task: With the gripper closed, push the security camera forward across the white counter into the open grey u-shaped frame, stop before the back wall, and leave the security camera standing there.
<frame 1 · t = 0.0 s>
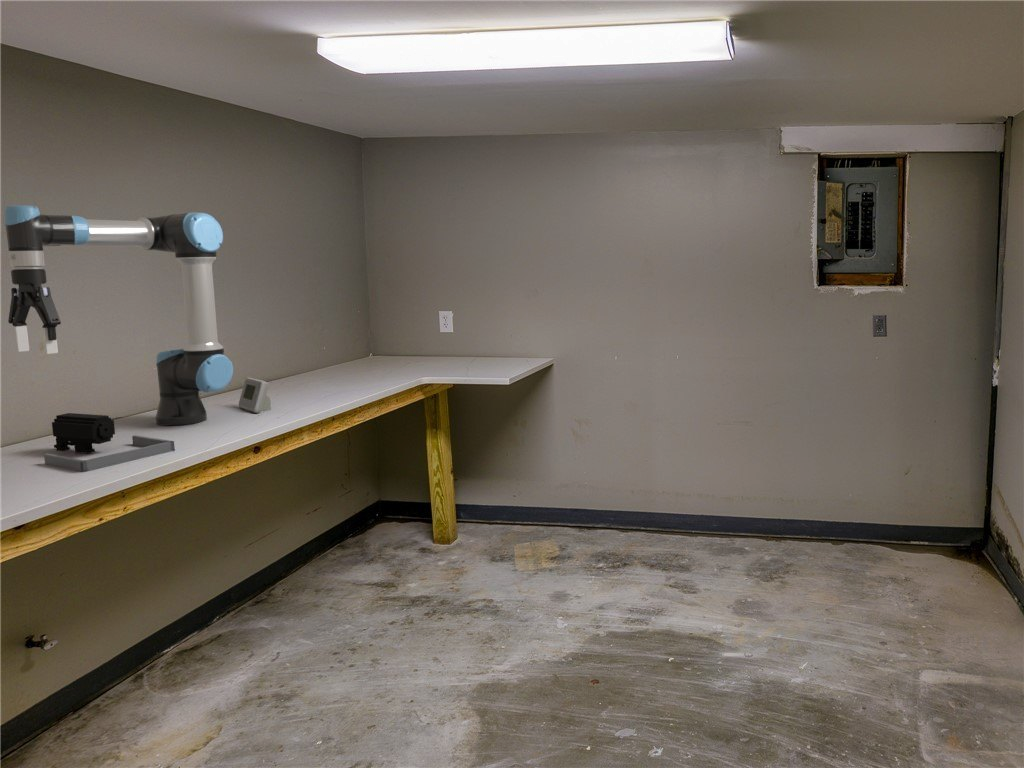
hand: (37, 352, 206), 28 cm above the table, tool pointing down, fingers open, 13 cm apart
digital clock: (254, 410, 275), on the table
grey u-shaped frame: (111, 456, 211), on the table
security camera: (83, 452, 218), on the table
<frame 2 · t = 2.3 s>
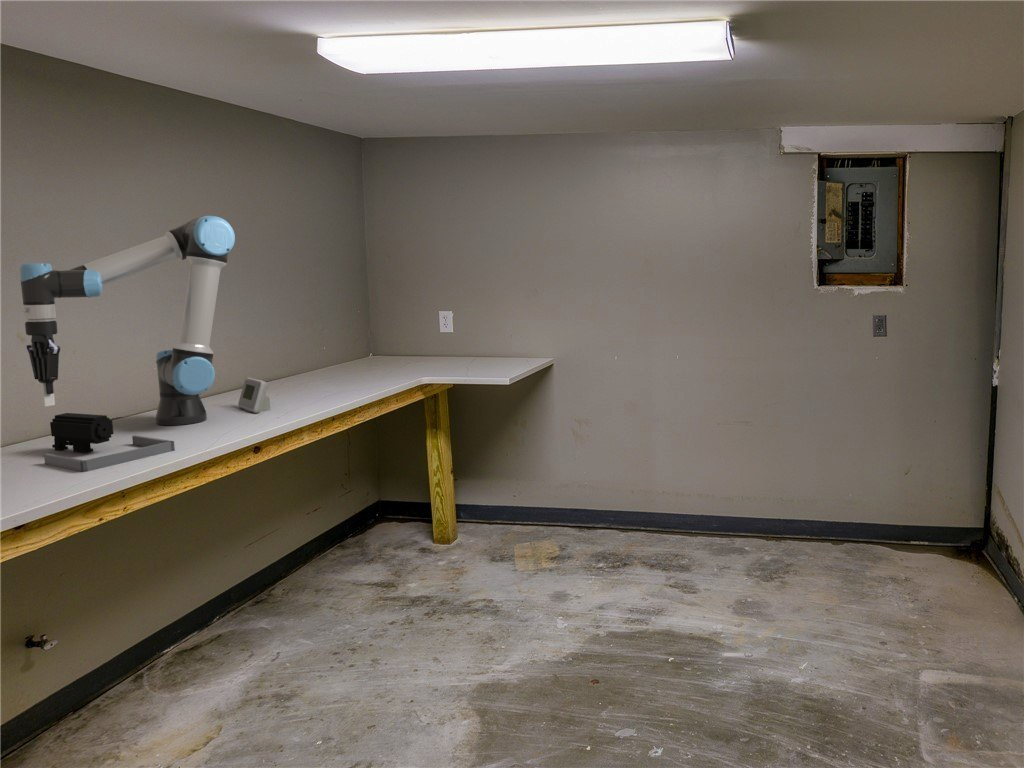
hand: (48, 405, 223), 12 cm above the table, tool pointing down, fingers closed
nothing on the table moved.
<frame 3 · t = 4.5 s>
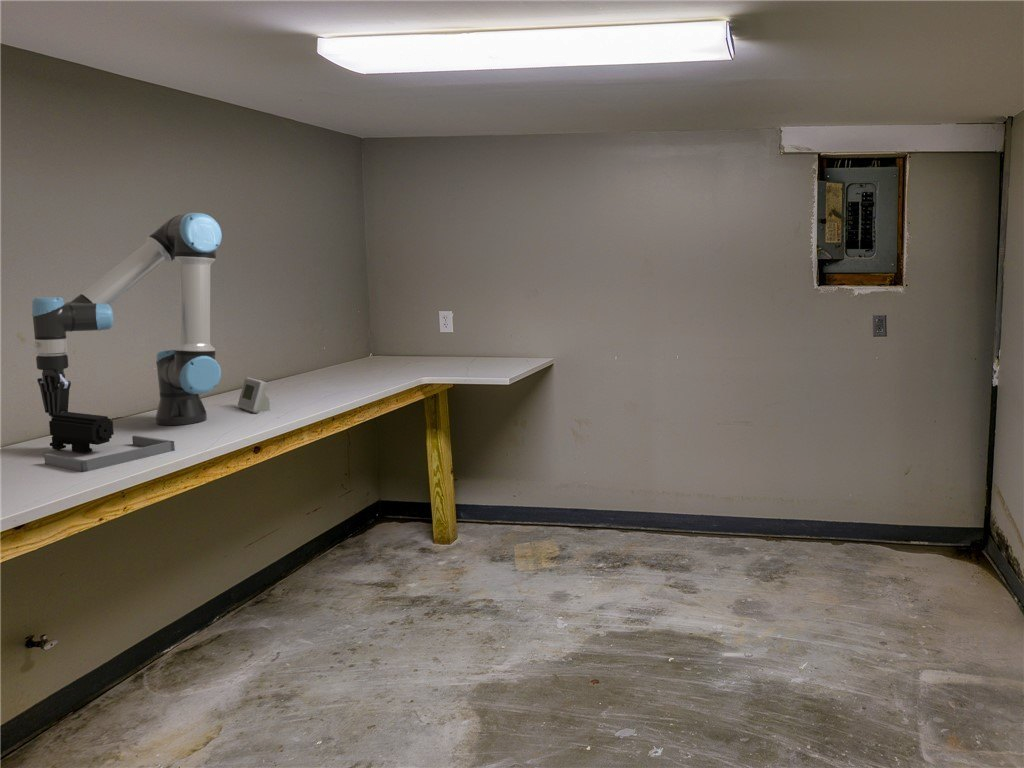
hand: (58, 439, 222), 3 cm above the table, tool pointing down, fingers closed
security camera: (80, 451, 218), on the table, touching gripper, hand
everything else where it was.
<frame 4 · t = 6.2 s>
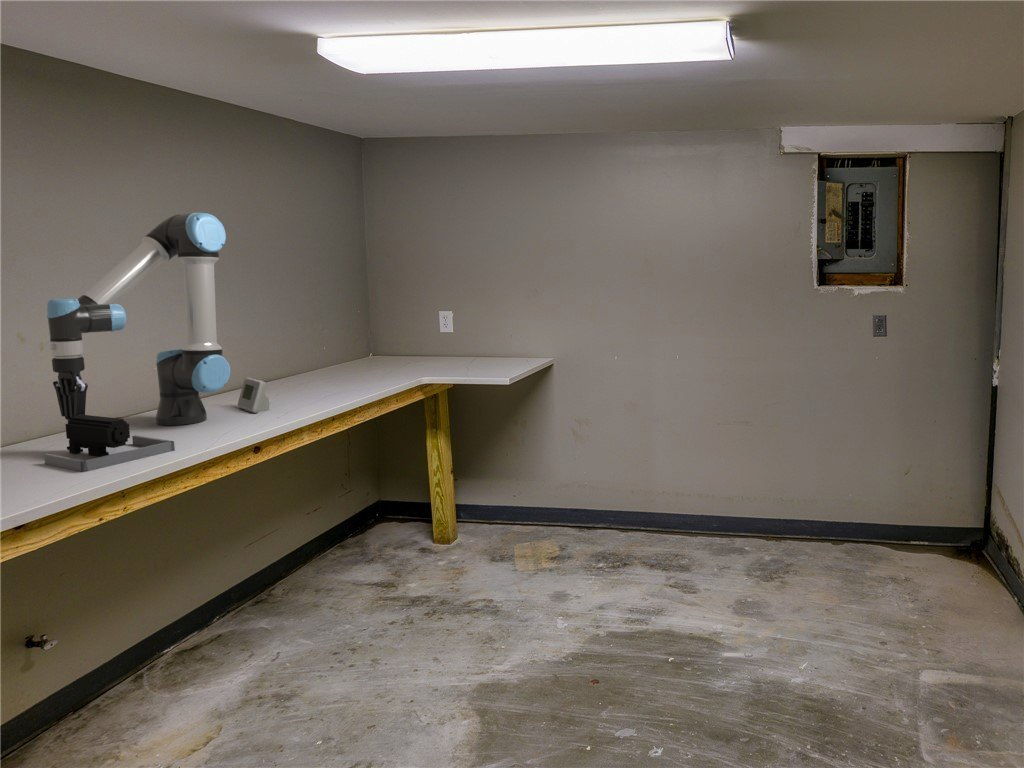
hand: (75, 442, 218), 2 cm above the table, tool pointing down, fingers closed
security camera: (96, 455, 213), on the table, touching gripper, hand
everything else where it was.
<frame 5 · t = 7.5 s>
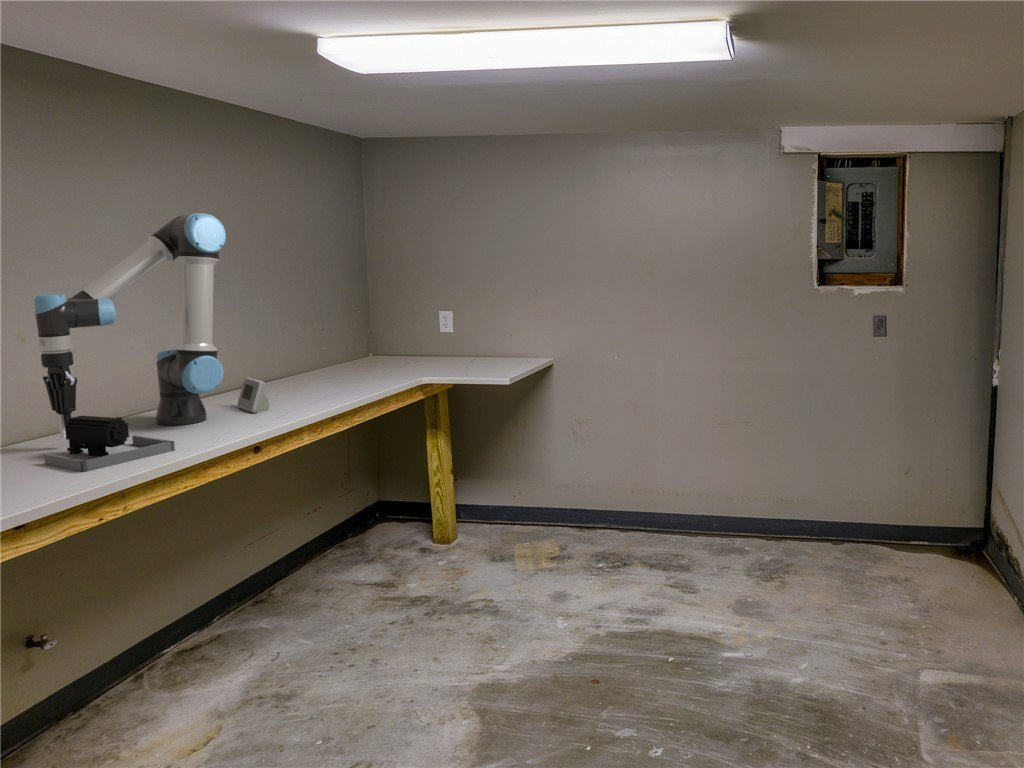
hand: (67, 436, 222), 3 cm above the table, tool pointing down, fingers closed
security camera: (96, 455, 213), on the table
everything else where it was.
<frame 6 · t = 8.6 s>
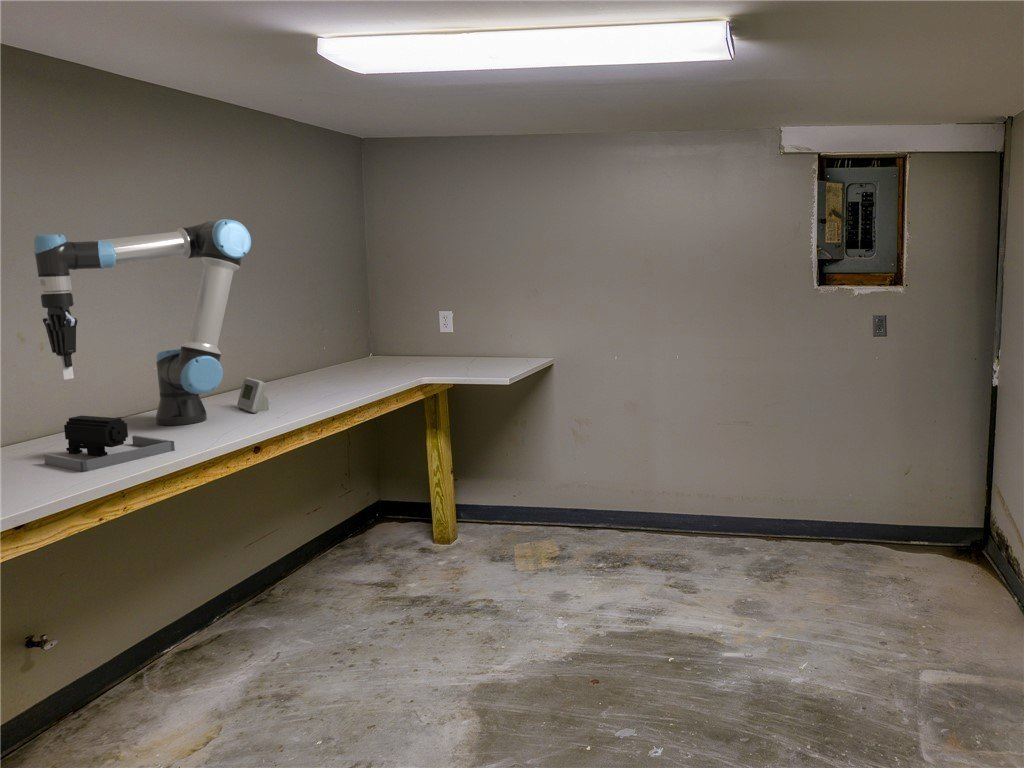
hand: (67, 378, 221), 19 cm above the table, tool pointing down, fingers closed
nothing on the table moved.
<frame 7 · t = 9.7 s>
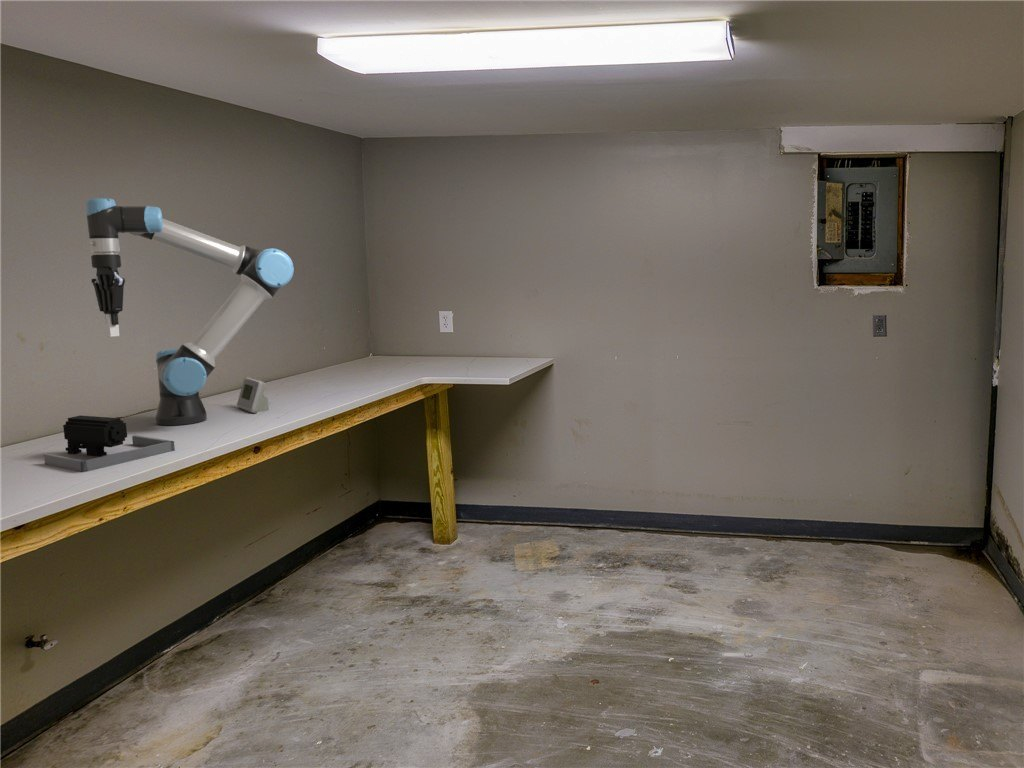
hand: (113, 336, 234), 29 cm above the table, tool pointing down, fingers closed
nothing on the table moved.
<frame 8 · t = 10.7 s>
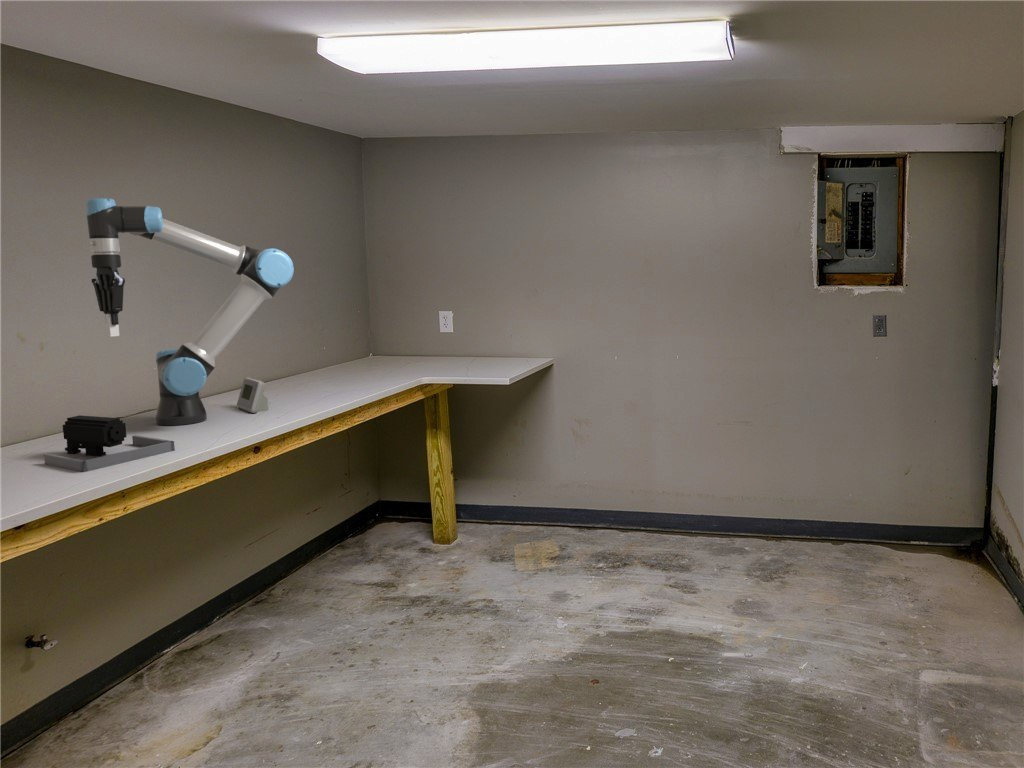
hand: (113, 336, 234), 29 cm above the table, tool pointing down, fingers closed
nothing on the table moved.
at the end: security camera inside the target area on the grey u-shaped frame (5.7 cm from its centre), point 0.0 cm above the grey u-shaped frame's base; security camera tilted 0°; the gripper is holding nothing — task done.
